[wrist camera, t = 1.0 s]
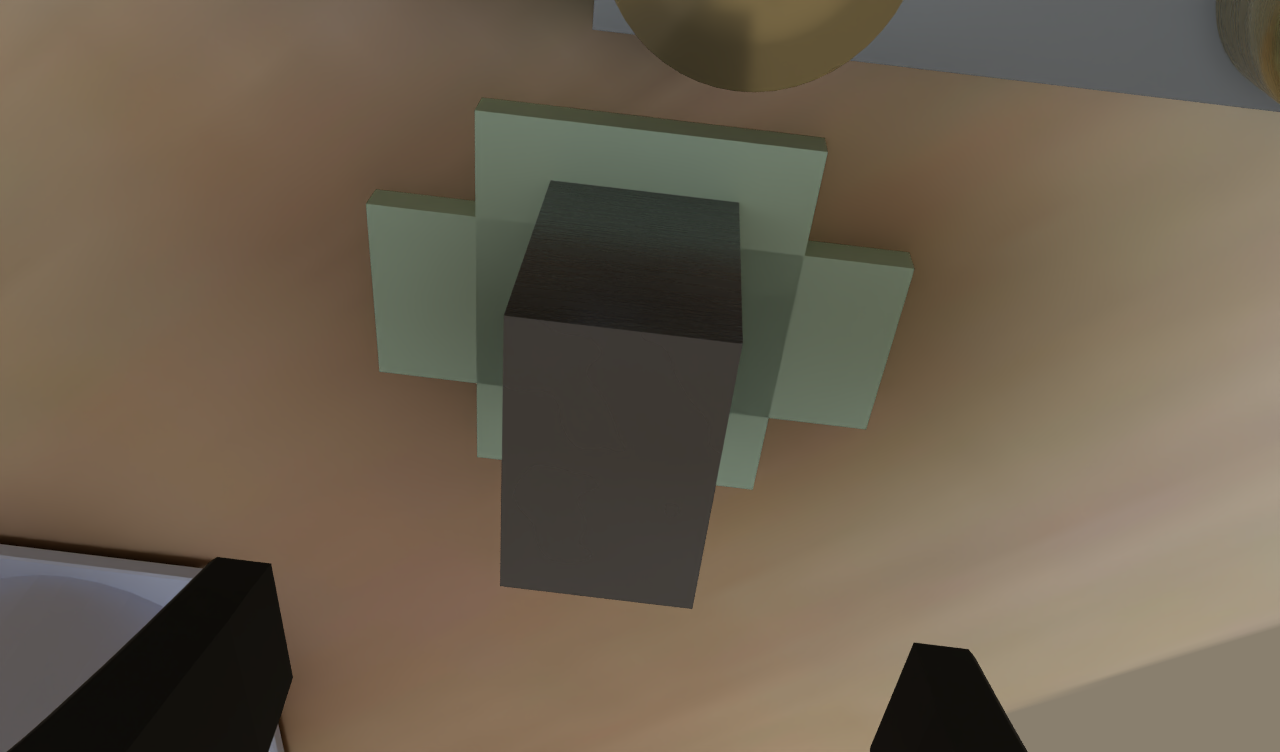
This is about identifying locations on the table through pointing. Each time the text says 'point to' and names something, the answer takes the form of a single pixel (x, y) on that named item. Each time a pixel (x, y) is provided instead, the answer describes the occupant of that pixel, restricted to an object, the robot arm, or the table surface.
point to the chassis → (972, 42)
